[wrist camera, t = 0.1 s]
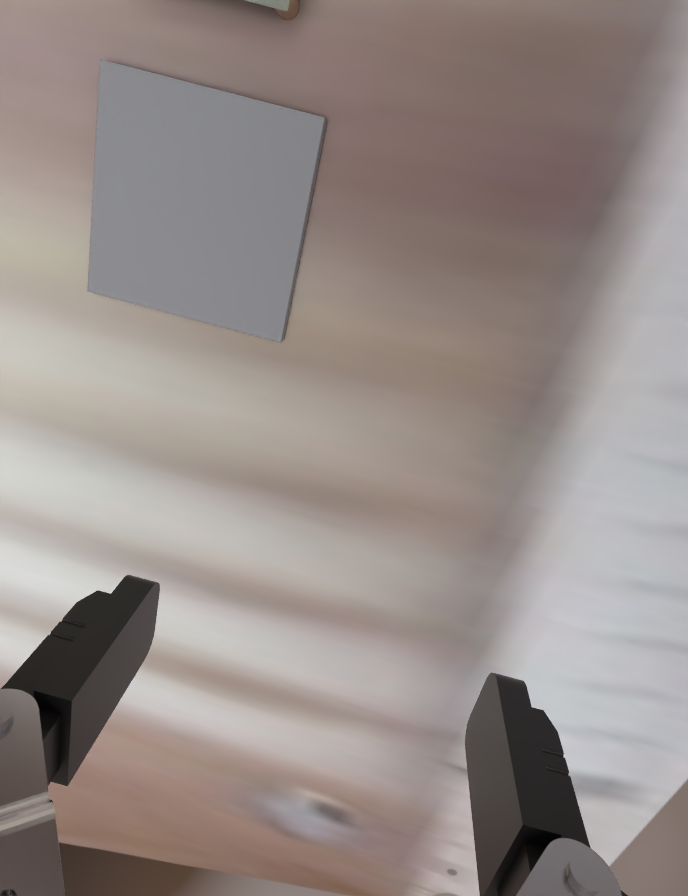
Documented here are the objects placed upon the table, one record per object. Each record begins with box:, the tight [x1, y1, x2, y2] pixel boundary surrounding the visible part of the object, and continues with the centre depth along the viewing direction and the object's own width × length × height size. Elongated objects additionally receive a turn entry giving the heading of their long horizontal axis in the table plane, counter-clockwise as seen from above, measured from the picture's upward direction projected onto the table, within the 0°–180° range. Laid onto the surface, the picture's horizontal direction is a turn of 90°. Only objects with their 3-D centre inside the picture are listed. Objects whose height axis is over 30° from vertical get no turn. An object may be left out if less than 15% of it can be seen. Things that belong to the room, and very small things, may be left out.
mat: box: [88, 59, 327, 343], centre depth 37 cm, size 14×14×1 cm
